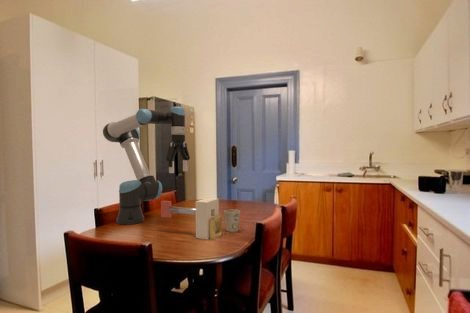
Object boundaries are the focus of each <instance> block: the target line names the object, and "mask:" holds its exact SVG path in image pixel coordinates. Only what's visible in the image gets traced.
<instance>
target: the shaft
mask: <svg viewBox="0 0 470 313" xmlns="http://www.w3.org/2000/svg"><path fill="white" fill-rule="evenodd" d="M172 214H185V215H193V216H194V215H195V216H196V207H195V208H194V207H182V206H181V207H180V206H172V201H171V200H161V201H160V217H161V218H172V216H173V215H172Z"/></svg>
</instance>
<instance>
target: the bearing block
mask: <svg viewBox="0 0 470 313" xmlns="http://www.w3.org/2000/svg"><path fill="white" fill-rule="evenodd" d="M219 202H220V201H219V198H213V197H207V198H206V197H205V198H204V199H200V200H197V201H195V208H196V215H195V238H196V239H201V240H210V219H212V218H214V217H216V216H220V215H219V212H220V210H219V208H220V206H219V205H220V204H219ZM216 231H217V222H216V223H215V232H216Z"/></svg>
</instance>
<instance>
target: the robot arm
mask: <svg viewBox="0 0 470 313" xmlns="http://www.w3.org/2000/svg"><path fill="white" fill-rule="evenodd" d="M185 111H186V110H185V108H184V107H183V106H172V107H171V109H170V111H160V110H152V109H148V108H139V109H138V110H137V111H136V113H135V114H133V115H131V116H128V117H126V118H123V119H121V120H118V121H116V122H115V121H111V122H109V123H107V124H105V126H104V127H103V128H102V134H103V137H104V139H106V141H108V142H111V143H119V145H120V147H121V148H122V149H124V151H125V153H126V155H127V158H128V161H129V163H130V166H131V168H132V171H133V173H134V176H135V178H136V179H133V180H126V181H123V182H121V183H120V184H119V189H118V193H119V194H118V195H119V198H118V199H119V202H118V203H119V210H118V213H117V217H116V224H118V225H134V224H135V225H136V224H140V223H143V222H145V215H144V214H143V210H142V202H147V201H154V200H156V199H159V198H160V197H161V196H162V193H163V185H162V182H161V181H160V180H158V179H157V180H156V178H155V175H152V174H151V173H150V169H149V168H148V166H147V164H146V161H145V159H144V156H143V153H142V150H141V148H140V146H139V142H140V137H141V136H140V135H141V133H140V130H139V128H142V127H144V126H147V125H149V124H151V125H157V126H169V125H170V126H171V127H170V128H171V130H170V132H171V133H170V134H171V135H170V136H171V142H169V143H168V144H169V145H168V150H167V154H166V157H165V160H166V161H167V162H168V173H169V174H174V173H175V162H174V159H175V157H176V154H177V152H179V153H180V154H181V155H180V156H182V157H181V158H182V159H183V160H182V172H188V171H189V170H188V162H189V161H190V160H191V159H190V158H191V157H190V154H189V149H188V147H187V146H188V144H187V143H186V142H185V141H186V135H185V134H186V113H185Z"/></svg>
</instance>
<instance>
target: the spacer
mask: <svg viewBox="0 0 470 313" xmlns="http://www.w3.org/2000/svg"><path fill="white" fill-rule="evenodd" d="M216 222H217V231H216V232H215V223H216ZM222 234H223V216H222V215H219V216H216V217H214V218H212V219H210V238H209V240H215V239H216V238H218V237H219V236H221V235H222Z"/></svg>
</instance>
